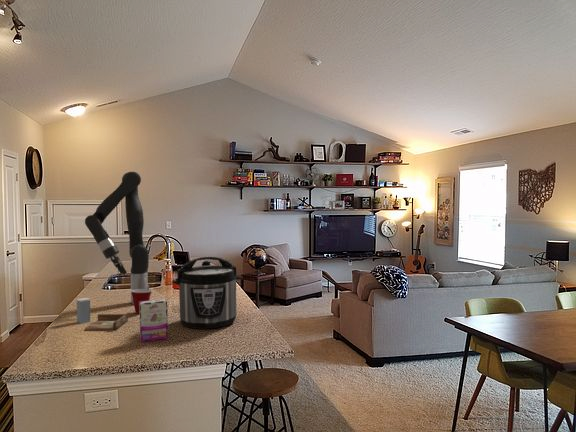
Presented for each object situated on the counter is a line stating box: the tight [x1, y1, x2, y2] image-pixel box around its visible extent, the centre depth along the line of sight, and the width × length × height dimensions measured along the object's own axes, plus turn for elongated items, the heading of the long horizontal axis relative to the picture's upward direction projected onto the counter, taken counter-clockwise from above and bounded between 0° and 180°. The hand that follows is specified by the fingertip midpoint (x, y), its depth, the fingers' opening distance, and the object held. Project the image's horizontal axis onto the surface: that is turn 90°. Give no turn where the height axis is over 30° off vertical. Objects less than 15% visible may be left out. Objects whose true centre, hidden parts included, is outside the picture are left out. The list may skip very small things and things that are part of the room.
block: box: [76, 297, 91, 324], centre depth 209 cm, size 5×5×11 cm
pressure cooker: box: [171, 256, 243, 329], centre depth 207 cm, size 30×28×32 cm
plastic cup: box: [130, 289, 153, 315], centre depth 226 cm, size 11×11×12 cm
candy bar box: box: [138, 298, 169, 343], centre depth 182 cm, size 11×5×16 cm, turn 114°
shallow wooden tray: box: [84, 313, 129, 332], centre depth 202 cm, size 15×14×4 cm
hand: (124, 273), depth 234 cm, fingers open, 8 cm apart
